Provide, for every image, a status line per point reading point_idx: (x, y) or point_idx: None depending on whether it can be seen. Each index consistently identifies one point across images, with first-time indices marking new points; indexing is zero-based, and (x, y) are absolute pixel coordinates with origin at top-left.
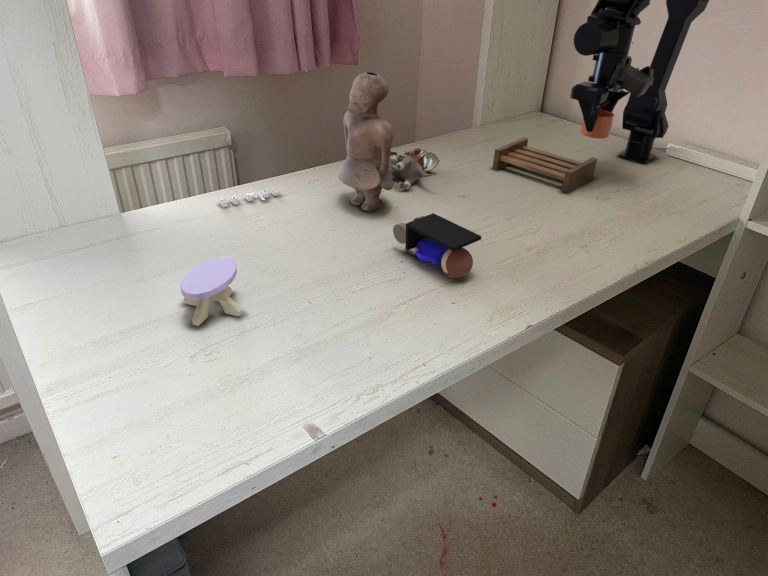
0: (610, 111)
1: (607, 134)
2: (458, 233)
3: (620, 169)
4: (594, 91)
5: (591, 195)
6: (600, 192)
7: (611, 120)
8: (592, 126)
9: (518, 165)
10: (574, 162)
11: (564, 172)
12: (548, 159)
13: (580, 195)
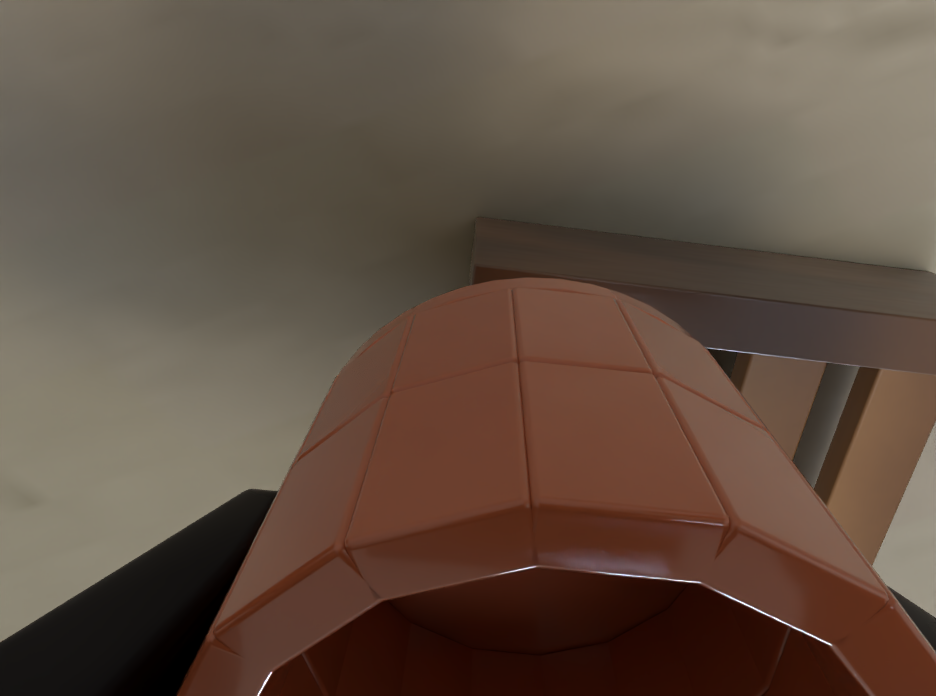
0: (125, 685)
1: (618, 302)
2: None
3: (90, 87)
4: None
5: (867, 92)
6: (756, 49)
7: (639, 433)
8: (925, 622)
9: None
10: None
11: (807, 406)
12: None
13: (912, 169)
